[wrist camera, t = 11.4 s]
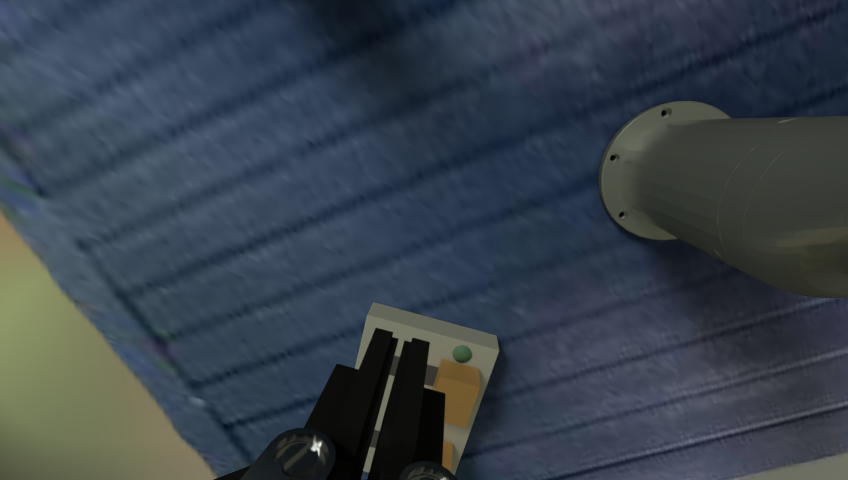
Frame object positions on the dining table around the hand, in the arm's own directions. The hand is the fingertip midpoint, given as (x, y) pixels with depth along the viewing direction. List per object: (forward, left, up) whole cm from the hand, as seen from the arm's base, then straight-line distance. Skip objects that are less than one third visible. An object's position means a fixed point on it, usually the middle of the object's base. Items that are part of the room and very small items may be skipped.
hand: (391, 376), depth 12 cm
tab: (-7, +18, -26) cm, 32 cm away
